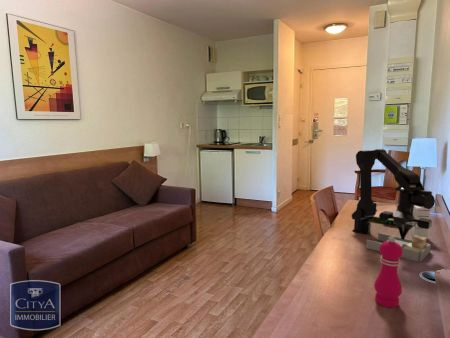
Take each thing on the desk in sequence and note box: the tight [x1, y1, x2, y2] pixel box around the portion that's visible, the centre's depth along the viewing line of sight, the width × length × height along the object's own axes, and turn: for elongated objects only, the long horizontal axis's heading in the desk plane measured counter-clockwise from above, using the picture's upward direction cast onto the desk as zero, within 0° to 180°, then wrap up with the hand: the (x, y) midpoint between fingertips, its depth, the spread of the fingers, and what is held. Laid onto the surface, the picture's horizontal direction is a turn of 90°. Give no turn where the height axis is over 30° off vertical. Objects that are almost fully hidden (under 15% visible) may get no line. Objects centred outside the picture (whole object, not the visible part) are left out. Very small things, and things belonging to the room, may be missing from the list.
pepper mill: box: [373, 236, 403, 308], centre depth 94 cm, size 7×7×20 cm
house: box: [373, 204, 398, 225], centre depth 182 cm, size 23×33×8 cm
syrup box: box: [410, 205, 431, 240], centre depth 151 cm, size 6×6×14 cm
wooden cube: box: [411, 235, 427, 249], centre depth 132 cm, size 4×4×4 cm
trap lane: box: [365, 232, 431, 263], centre depth 136 cm, size 20×14×4 cm
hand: (402, 239), depth 137 cm, fingers closed
